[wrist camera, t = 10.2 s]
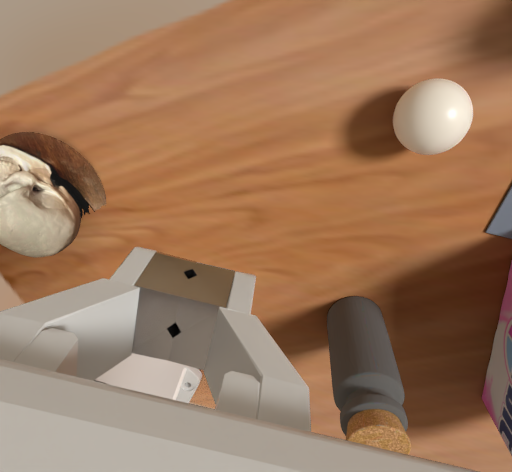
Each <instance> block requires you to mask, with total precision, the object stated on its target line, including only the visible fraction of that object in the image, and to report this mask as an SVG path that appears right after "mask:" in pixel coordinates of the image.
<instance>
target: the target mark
mask: <svg viewBox="0 0 512 472" xmlns="http://www.w3.org/2000/svg"><path fill="white" fill-rule="evenodd" d="M485 232H486V233H490V234H494V235H498V236H502V237H506V238H510V239H512V186H511V187H510V189H509V191H508V193H507V194H506V196H505V198H504V200H503V201H502V203H501V205H500V207H499V208H498V210H497V212H496V214H495V215H494V217H493V219H492V221H491V222H490V224H489V226H488V228H487V229H486V231H485Z"/></svg>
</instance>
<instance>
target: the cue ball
mask: <svg viewBox="0 0 512 472" xmlns="http://www.w3.org/2000/svg"><path fill="white" fill-rule="evenodd" d="M472 118H473V106H472V102H471V99H470V97H469V95H468V94H467V92H466V91H465V90H464V89H463V88H462V87H461V86H460V85H458V84H457V83H455V82H453V81H450V80H447V79H440V78H439V79H428V80H425V81H422V82H419V83H417V84H416V85H414V86H412V87H411V88H410V89H408V90H407V91H406V92H405V93H404V94H403V95H402V97H401V98H400V100H399V101H398V103H397V105H396V108H395V111H394V115H393V127H394V132H395V134H396V137H397V138H398V140H399V141H400V143H401V144H402V145H403V146H404V147H406V148H407V149H408V150H410V151H412V152H415V153H418V154H422V155H433V154H439V153H442V152H445V151H447V150H449V149H451V148H453V147H454V146H455V145H457V144H458V143H459V142H460V141H461V140H462V139H463V138H464V136H465V135H466V133H467V132H468V130H469V128H470V126H471V123H472Z"/></svg>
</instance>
